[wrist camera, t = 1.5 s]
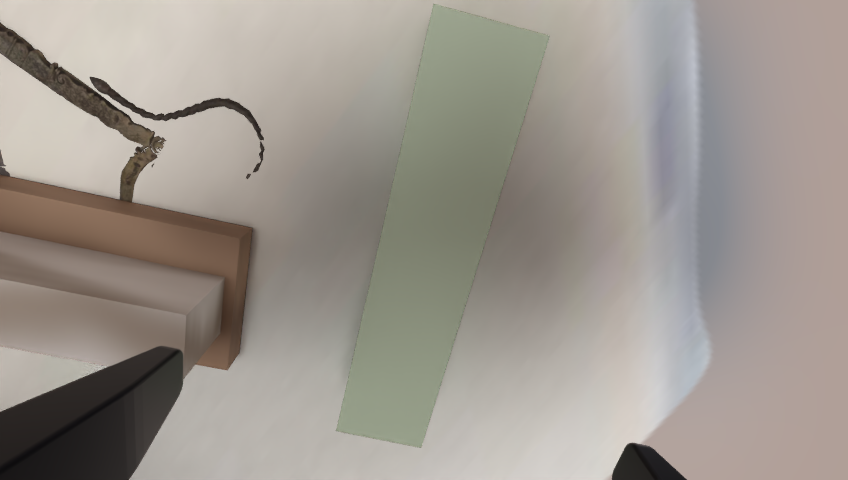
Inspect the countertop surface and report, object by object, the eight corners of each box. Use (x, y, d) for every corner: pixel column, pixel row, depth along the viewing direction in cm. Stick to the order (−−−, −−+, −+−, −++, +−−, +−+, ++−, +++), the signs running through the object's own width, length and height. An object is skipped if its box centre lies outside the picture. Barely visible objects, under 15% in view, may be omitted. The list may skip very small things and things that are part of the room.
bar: (421, 391, 25) (420, 448, 21) (349, 376, 24) (336, 430, 21) (524, 44, 19) (549, 36, 15) (432, 19, 18) (433, 3, 15)
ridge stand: (239, 352, 23) (192, 421, 19) (-130, 282, 22) (-280, 337, 17) (252, 228, 21) (203, 270, 16) (-158, 141, 20) (-340, 160, 15)
